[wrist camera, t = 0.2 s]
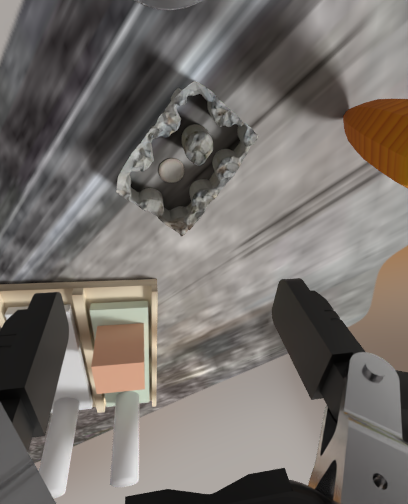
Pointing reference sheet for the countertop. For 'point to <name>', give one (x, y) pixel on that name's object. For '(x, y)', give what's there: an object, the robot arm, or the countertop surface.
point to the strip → (64, 411)
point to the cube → (119, 358)
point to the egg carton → (196, 151)
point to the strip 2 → (125, 393)
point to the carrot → (381, 135)
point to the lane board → (80, 302)
